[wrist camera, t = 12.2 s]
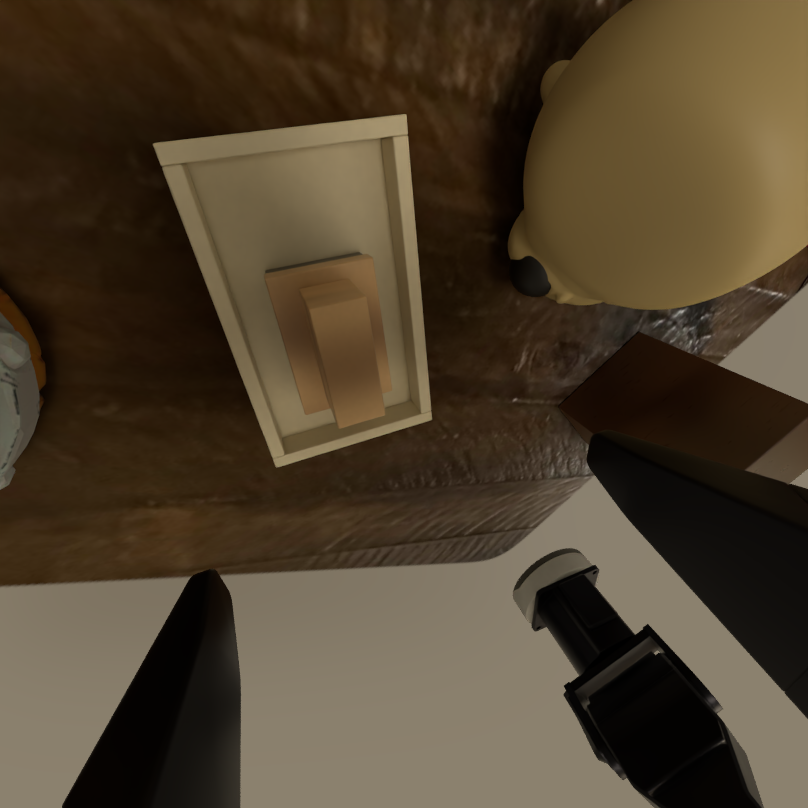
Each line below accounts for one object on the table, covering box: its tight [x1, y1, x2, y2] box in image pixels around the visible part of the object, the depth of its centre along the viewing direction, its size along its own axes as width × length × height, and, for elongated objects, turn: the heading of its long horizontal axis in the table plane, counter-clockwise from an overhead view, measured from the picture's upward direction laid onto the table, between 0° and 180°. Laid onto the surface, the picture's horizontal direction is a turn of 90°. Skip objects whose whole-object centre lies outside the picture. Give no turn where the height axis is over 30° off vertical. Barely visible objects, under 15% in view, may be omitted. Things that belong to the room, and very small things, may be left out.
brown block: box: [559, 332, 808, 484], centre depth 24 cm, size 7×5×10 cm
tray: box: [153, 114, 432, 467], centre depth 17 cm, size 13×8×2 cm, turn 7°
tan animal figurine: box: [508, 0, 808, 310], centre depth 15 cm, size 10×12×11 cm
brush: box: [264, 252, 392, 429], centre depth 17 cm, size 6×4×4 cm
